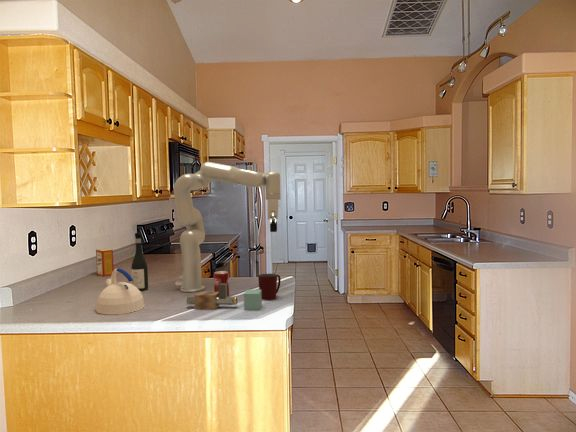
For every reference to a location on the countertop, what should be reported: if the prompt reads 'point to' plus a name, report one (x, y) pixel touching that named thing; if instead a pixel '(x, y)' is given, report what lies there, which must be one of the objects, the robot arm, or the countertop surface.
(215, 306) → the guide sleeve
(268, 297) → the mug
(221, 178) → the robot arm
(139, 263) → the wine bottle
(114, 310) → the kettle
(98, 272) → the baking soda box
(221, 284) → the slide bolt
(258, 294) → the socket block
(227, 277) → the soda can
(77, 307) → the countertop surface
